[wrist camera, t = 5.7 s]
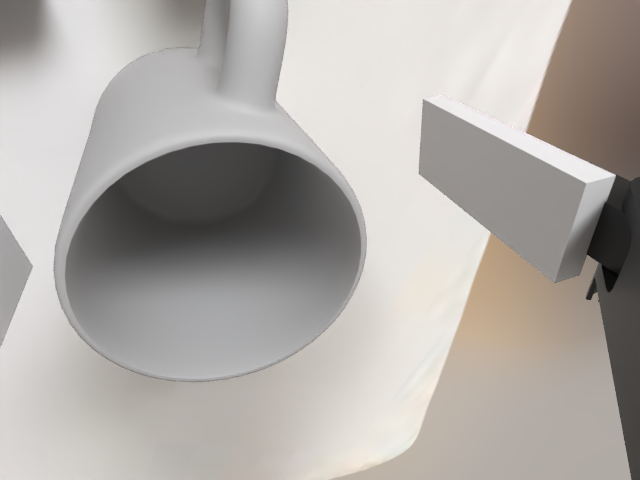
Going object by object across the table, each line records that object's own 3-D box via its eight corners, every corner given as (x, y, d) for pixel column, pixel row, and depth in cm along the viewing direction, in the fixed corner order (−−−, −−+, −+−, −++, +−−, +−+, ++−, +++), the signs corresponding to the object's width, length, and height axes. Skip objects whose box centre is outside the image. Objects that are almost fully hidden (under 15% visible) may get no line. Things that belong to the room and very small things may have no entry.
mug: (261, 224, 24) (327, 375, 15) (92, 212, 20) (52, 399, 12) (317, -12, 18) (468, 15, 10) (97, -87, 15) (28, -151, 6)
